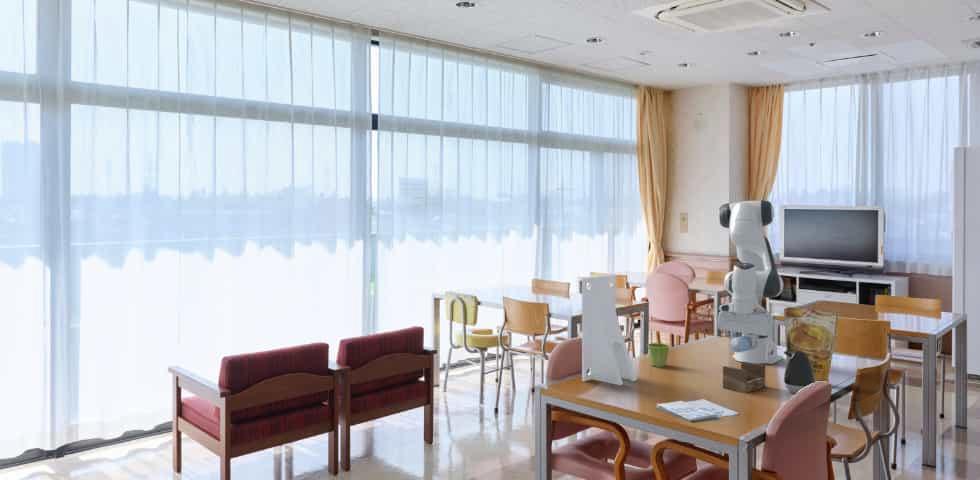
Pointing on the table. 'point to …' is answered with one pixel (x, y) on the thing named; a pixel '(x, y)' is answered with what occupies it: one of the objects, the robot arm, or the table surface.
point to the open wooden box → (744, 377)
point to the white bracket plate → (603, 333)
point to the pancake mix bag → (812, 337)
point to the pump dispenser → (798, 371)
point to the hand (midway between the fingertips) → (744, 345)
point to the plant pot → (658, 354)
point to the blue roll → (742, 343)
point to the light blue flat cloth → (696, 410)
